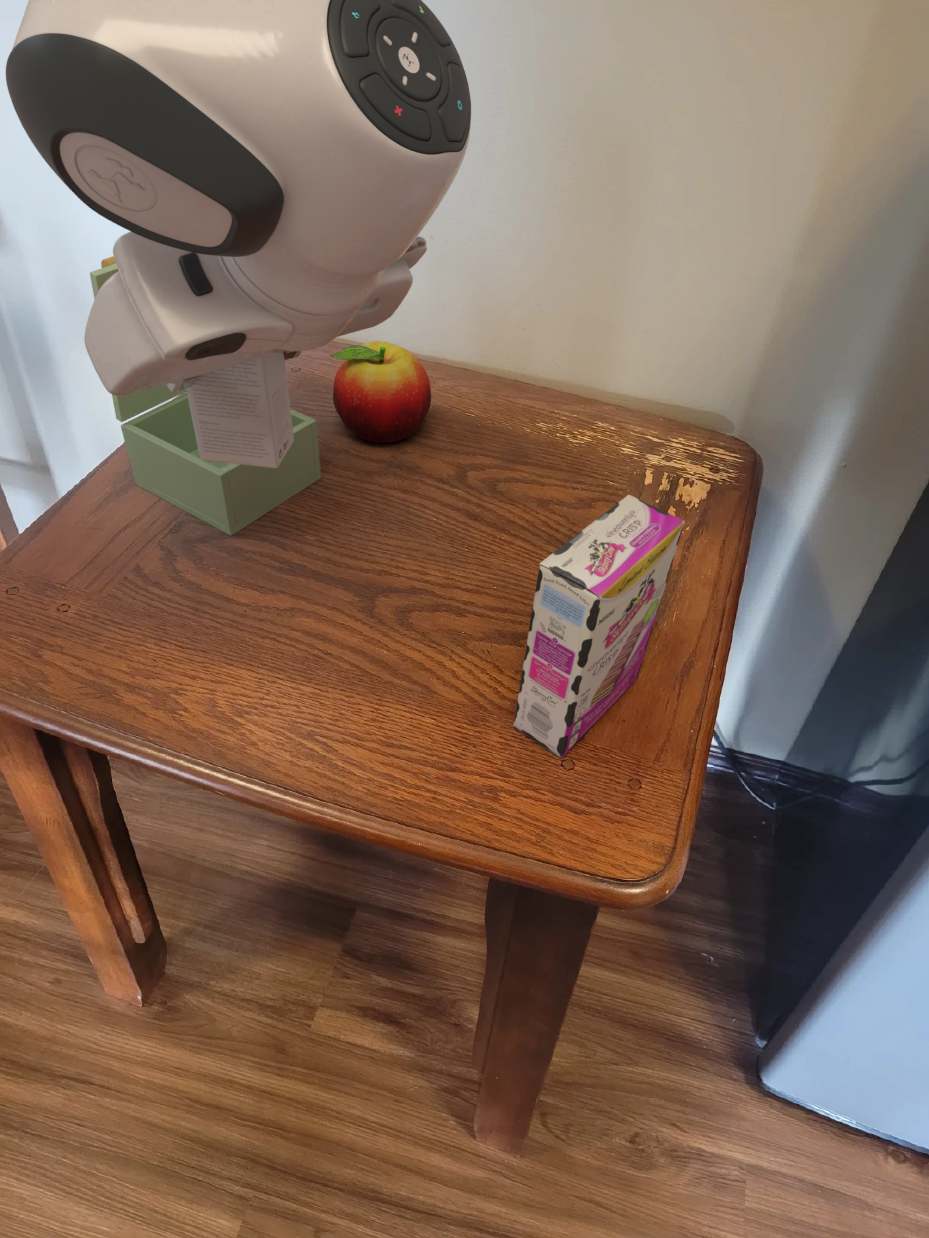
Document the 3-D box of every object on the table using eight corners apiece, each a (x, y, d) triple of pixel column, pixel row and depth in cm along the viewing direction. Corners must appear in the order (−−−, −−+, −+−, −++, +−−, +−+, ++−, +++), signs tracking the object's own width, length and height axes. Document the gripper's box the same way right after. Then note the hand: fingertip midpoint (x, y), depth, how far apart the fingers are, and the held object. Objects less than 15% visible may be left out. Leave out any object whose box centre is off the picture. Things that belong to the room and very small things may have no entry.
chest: (321, 478, 88) (316, 420, 83) (231, 536, 80) (220, 475, 76) (228, 434, 93) (219, 377, 89) (135, 484, 86) (120, 425, 81)
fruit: (439, 451, 93) (442, 366, 86) (340, 459, 91) (335, 372, 84) (420, 402, 101) (421, 321, 94) (328, 409, 98) (323, 326, 92)
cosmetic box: (295, 441, 64) (279, 282, 56) (277, 471, 61) (257, 307, 53) (218, 432, 65) (191, 273, 57) (197, 461, 62) (165, 297, 54)
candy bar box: (564, 763, 63) (600, 598, 51) (510, 728, 65) (533, 562, 54) (642, 681, 69) (689, 518, 58) (591, 651, 71) (626, 489, 60)
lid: (211, 236, 78) (176, 218, 79) (95, 276, 70) (59, 255, 72) (221, 374, 88) (190, 356, 90) (121, 422, 81) (89, 402, 82)
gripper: (416, 182, 52) (337, 290, 64) (82, 243, 42) (64, 357, 54) (459, 279, 52) (373, 368, 64) (139, 362, 42) (109, 449, 54)
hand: (230, 364), depth 59 cm, fingers closed on cosmetic box, 7 cm apart
